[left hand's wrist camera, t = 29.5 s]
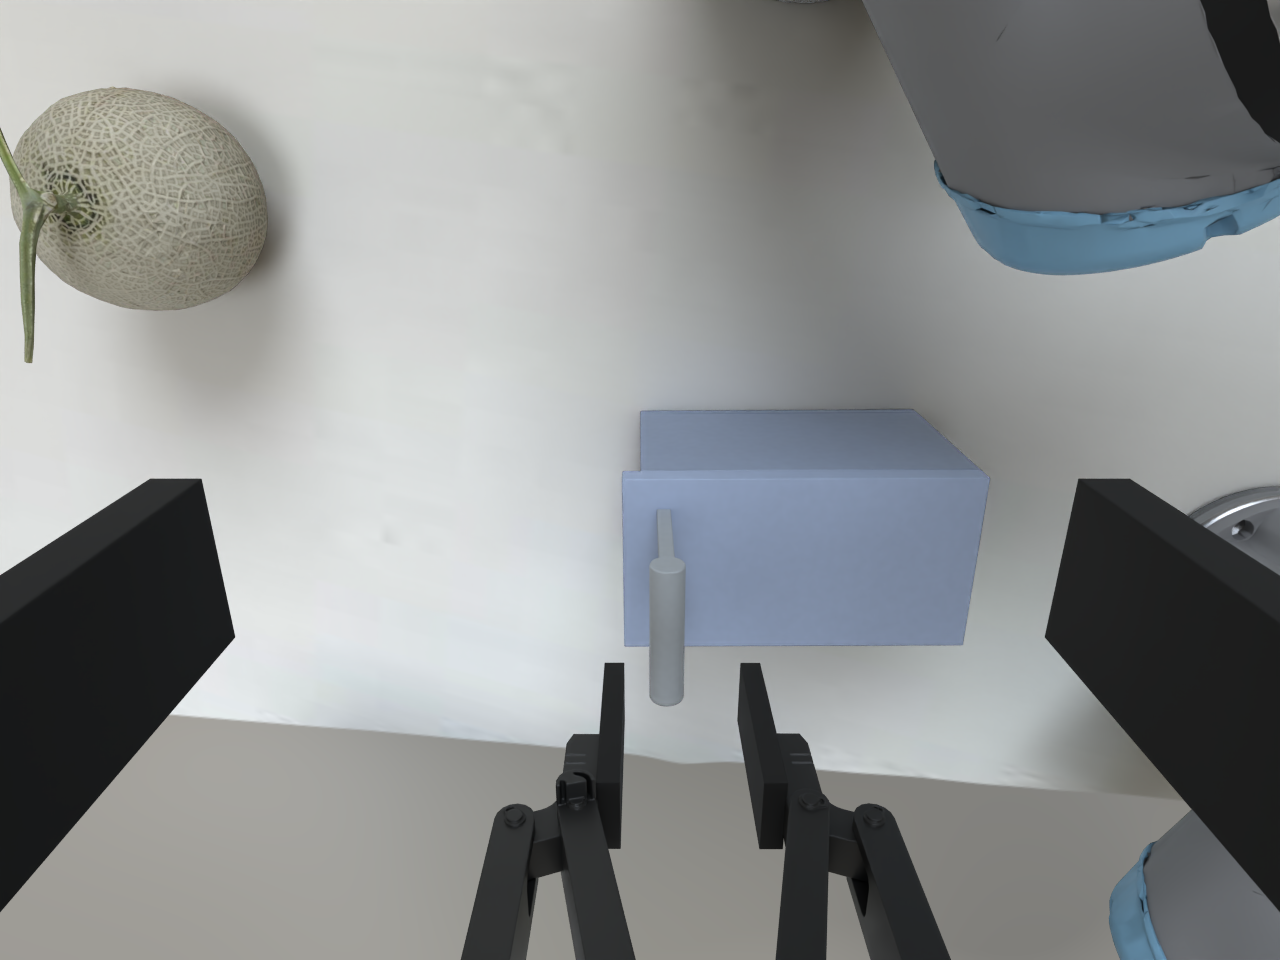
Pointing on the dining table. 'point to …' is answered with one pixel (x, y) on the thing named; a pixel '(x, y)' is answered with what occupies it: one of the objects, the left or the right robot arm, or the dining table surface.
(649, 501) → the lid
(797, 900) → the right robot arm
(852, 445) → the chest
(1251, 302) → the dining table surface
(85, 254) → the fruit
